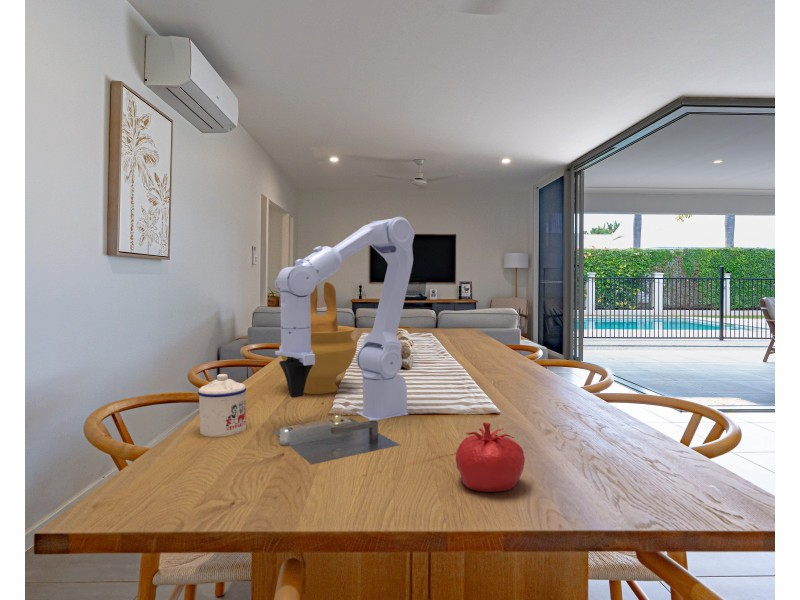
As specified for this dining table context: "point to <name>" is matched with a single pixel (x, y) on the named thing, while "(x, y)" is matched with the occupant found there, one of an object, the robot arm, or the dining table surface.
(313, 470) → the dining table surface
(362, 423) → the bracket
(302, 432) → the link
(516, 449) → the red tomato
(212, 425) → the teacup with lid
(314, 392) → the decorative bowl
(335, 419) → the peg
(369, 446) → the base plate
